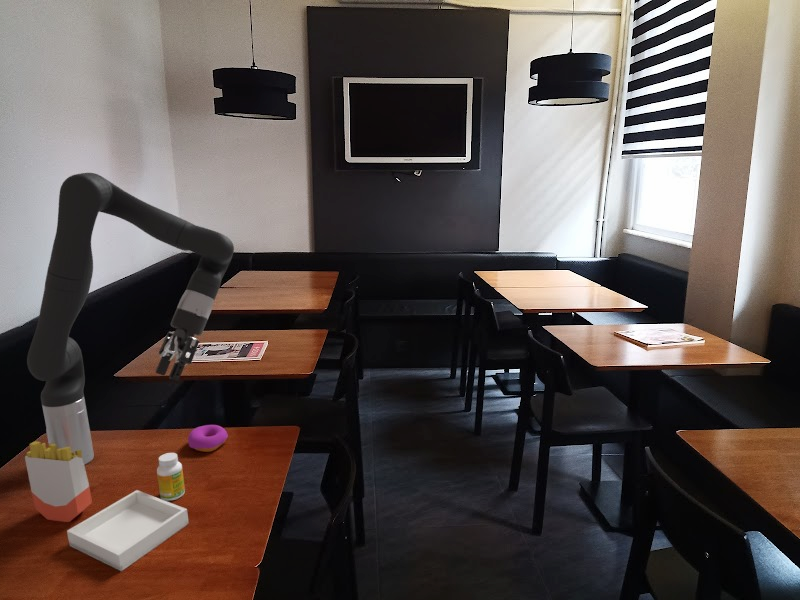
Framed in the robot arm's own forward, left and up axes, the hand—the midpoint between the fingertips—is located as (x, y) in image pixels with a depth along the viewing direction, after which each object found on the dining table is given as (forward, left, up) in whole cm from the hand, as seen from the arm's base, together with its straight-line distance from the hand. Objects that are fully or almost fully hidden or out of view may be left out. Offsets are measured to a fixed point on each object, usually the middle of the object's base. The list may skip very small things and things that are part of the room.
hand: (166, 376), depth 130 cm
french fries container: (-10, -22, -26) cm, 36 cm away
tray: (+9, -20, -26) cm, 34 cm away
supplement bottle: (+5, -6, -26) cm, 27 cm away
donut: (-6, +15, -27) cm, 31 cm away
